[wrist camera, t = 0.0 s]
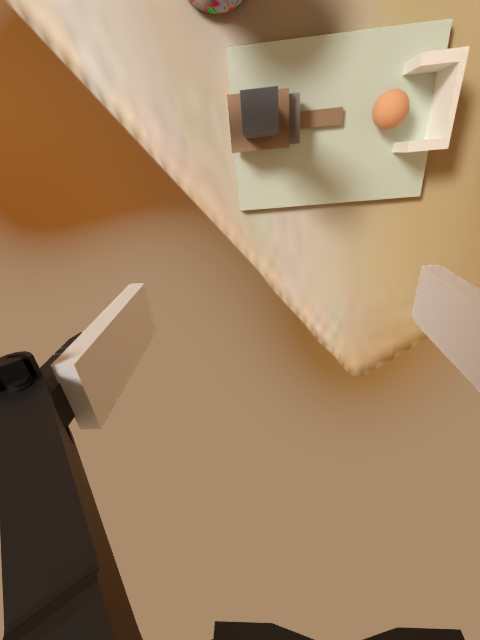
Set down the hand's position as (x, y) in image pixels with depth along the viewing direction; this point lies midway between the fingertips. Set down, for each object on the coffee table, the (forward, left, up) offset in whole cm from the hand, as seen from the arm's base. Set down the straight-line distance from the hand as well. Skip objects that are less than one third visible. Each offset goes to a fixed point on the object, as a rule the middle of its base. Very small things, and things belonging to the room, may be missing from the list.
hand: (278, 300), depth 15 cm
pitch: (-8, +8, -28) cm, 30 cm away
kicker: (-9, 0, -26) cm, 28 cm away
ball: (-9, +13, -25) cm, 30 cm away
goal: (-9, +17, -28) cm, 34 cm away
